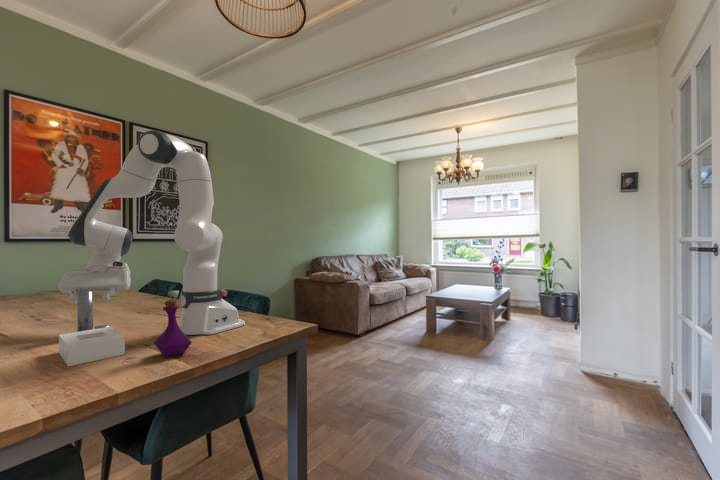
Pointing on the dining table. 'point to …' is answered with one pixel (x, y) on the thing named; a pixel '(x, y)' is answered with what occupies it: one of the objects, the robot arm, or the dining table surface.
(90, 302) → the tall pin
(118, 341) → the guide block
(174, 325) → the perfume bottle
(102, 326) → the short pin
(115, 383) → the dining table surface
